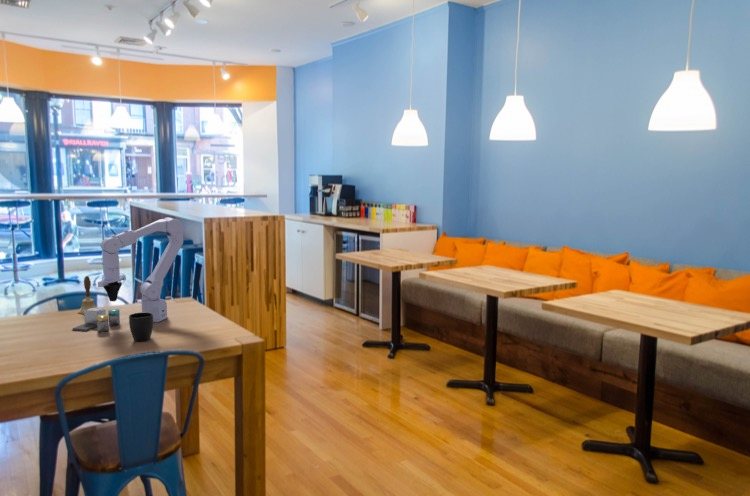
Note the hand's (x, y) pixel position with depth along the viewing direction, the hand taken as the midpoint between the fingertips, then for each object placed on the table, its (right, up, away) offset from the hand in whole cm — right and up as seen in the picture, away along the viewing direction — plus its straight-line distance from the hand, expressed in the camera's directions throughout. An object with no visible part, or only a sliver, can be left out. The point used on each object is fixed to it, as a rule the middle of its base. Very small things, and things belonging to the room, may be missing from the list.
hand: (113, 300), depth 223 cm
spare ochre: (0, -11, -8) cm, 13 cm away
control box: (-8, -10, +1) cm, 12 cm away
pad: (-9, -11, -5) cm, 15 cm away
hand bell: (-20, -7, +20) cm, 30 cm away
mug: (+19, -13, -15) cm, 27 cm away
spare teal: (0, -10, +1) cm, 10 cm away
